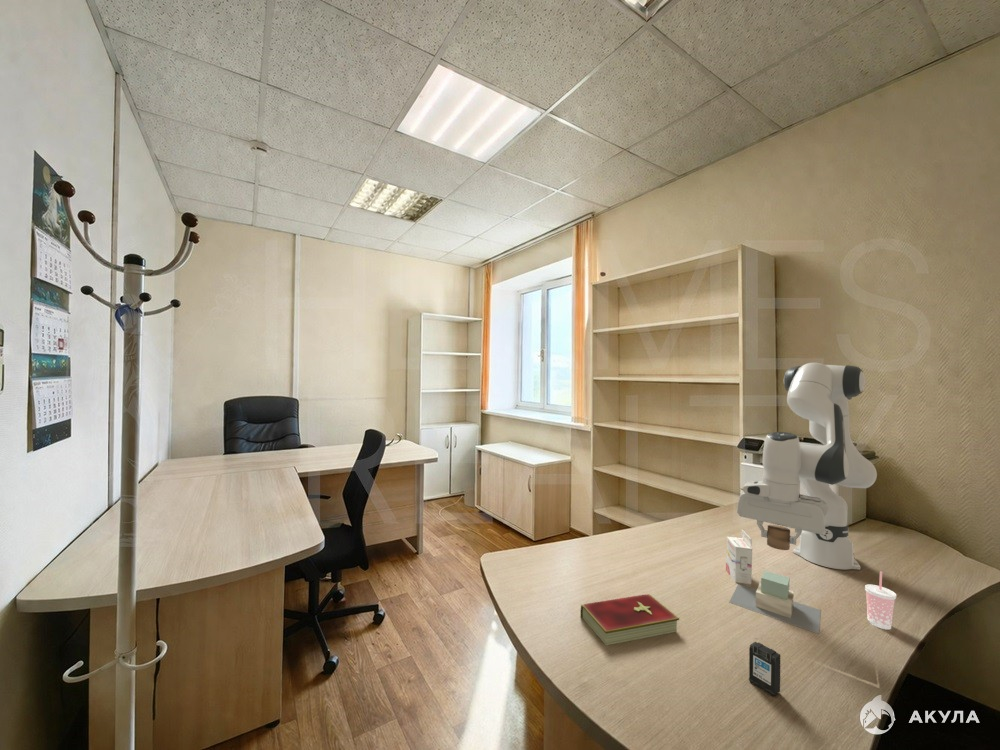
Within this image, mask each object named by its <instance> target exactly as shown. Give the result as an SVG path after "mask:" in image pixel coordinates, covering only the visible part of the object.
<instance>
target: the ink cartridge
mask: <svg viewBox="0 0 1000 750" xmlns="http://www.w3.org/2000/svg"><path fill="white" fill-rule="evenodd" d="M748 649H749V650H748V651H749V653H748V655H749V659H748V661H749V662H748V663H749V664H748V667H749V670H748V673H749V674H748V675H749V676H748V680H749V683H750V684H752V685H754V686H756V687H757V688H759V689H760V690H762V691H763V692H766V693H767V695H768V694H769V695H770V696H772V697H775V696H776V695H777V694H779V693H780V692H781V654H779V653H778V652H777V651H775V650H774V649H772V648H770V647H769V646H768V647H767V646H766V645H764V644H763V643H761V642H759V641H758V642H757V641H754V642H752V643H751V644H750V645H749V647H748Z"/></svg>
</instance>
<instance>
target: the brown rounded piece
mask: <svg viewBox="0 0 1000 750" xmlns="http://www.w3.org/2000/svg"><path fill="white" fill-rule="evenodd" d="M766 530H767V538H766V545H767V546H769V547H770V548H772V549H776V550H779V551H789V550H790V547H791V544H790V543H789V541H790V540H789V539H790V536H791V529H790V528H789V527H786V526H781V525H777V524H768V525H767V529H766Z"/></svg>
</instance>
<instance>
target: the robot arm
mask: <svg viewBox="0 0 1000 750" xmlns="http://www.w3.org/2000/svg"><path fill="white" fill-rule="evenodd" d="M866 382H867V378H866V375H865V374H864V371H863V369H861V368H860V367H859V366H855V365H849V364H846V365H840V364H839V365H836V364H824V363H820V362H807V363H805V364H802V365H797V366H792V367H790V368H789V369H787V370H786V371H785V373H784V376H783V385H784V389H785V391H786V392H787V396H786V403H787V406H788V407H789V409H790V410H791V411H792V412H793V413H794V414H795V415H796V416H798V417H801V418H802V419H804V420H807V421H808V423H809V433H810V435H811V437H812V438H814V440H816V441H818V442H820V443H821V444H822V445H812V444H805V443H800V438H799V436H798V435H796V434H794V433H791V432H786V431H777V432H776V431H772V432H769V433H768V434H766V436H765V440H764V444H763V449H762V450H763V451H762V463H761V464H762V466H763V471H762V472H763V473H762V475H761V480H757V481H754V480H753V481H747V482H745V484H743V486H742V493H741V494H740V496H739V497H738V501H737V507H736V508H737V509H736V513H737V514H738V516H739V517H742V518H747V519H750V520H756V525H757V527H758V528H759V530H760V537H761V538H766V539H767V530H768V529H765V528H764V526H763V525H764V523H768V524H771V525H778V526H782V527H785V528H789V529H790V528H791V529H794V533H795V534H794V535H790V539H789V540H790V541H789V543H790V545H795V548H793V550H792V553H793V554H795V555H798V556H800V557H802V559H804V560H807V561H808V562H811V563H813V564H816V565H818V566H822V567H826V568H830V569H834V570H845V571H846V570H859V571H860V570H861V569H862V568H861V565H860V564H859V562H858V561H857V559H856V558H855V557H854V556H855V553H854V547H855V546H854V543H853V541H851V539H850V538H849V532H850V529H849V524H848V504H847V502H846V500H845V499H844V498H843V497H842V496H840V495H839V494H838V493H836V492H835V491H833V489H832V488H831V486H834V485H837V486H841V487H846V488H851V489H853V488H854V489H868V488H870V487H872V486H873V485H874V483H876V481H877V478H878V477H877V476H878V472H877V469H876V467H875V465H874V464H873V462H871V461H870V460H869V459H867V458H866V457H865V456H863V455H862V454H861V452H860V451H858V449H857V448H856V446H855V445H854V442H853V440H852V438H851V437H852V436H851V430H850V429H851V428H850V407H849V406H850V405H849V400H852V398H856V397H858V396H859V395H861V394H863V391H864V389H865V387H866V384H867V383H866ZM801 485H802V487H803V489H804V491H805V495H804V494H801ZM830 485H831V486H830ZM798 538H799V544H798V545H797V539H798Z"/></svg>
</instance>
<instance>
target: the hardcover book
mask: <svg viewBox="0 0 1000 750" xmlns="http://www.w3.org/2000/svg"><path fill="white" fill-rule="evenodd" d="M580 618H581V619H583V620H584V621H585V622H586V623H587V625H588V626H589V627H590V628H591V629H592V631H593V632H594V633H595V634H596V635H597V637H598V638H599V639H600V640H601V641H602V643H603V644H604V646H611V645H617V644H620V643H626V642H631V641H636V640H641V639H646V638H647V639H648V638H651V637H656V636H662V635H667V634H672V633H676V632H677V631H678V629H677V628H678V627H677V625H678V624H677V623H678V621H680V617H678V616H677V615H676V614H675V613H673V612H672V611H671V610H670V609H668V608H667V607H666V606H665V605H663V604H662V603H661V602H660V601H659V600H657V599H656V598H655V597H653V596H652V594H650V593H646V594H640V595H634V596H628V597H621V598H614V599H609V600H602V601H596V602H594V601H593V602H590V603H582V604H581V605H580Z"/></svg>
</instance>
